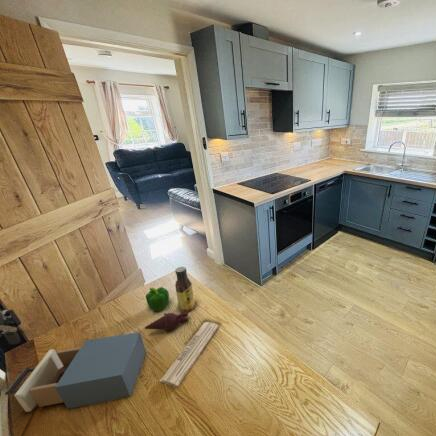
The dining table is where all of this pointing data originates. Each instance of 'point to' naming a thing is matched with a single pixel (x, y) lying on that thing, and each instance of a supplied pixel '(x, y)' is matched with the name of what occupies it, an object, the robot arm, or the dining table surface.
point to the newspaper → (189, 355)
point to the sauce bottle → (184, 290)
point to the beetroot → (168, 321)
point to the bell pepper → (157, 298)
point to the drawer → (42, 380)
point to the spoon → (59, 374)
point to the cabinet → (102, 370)
